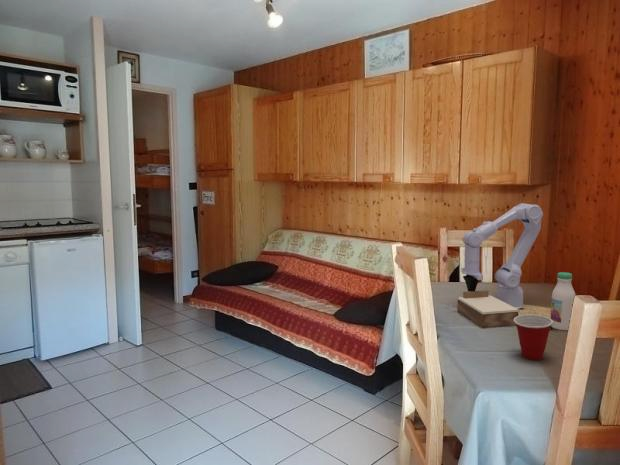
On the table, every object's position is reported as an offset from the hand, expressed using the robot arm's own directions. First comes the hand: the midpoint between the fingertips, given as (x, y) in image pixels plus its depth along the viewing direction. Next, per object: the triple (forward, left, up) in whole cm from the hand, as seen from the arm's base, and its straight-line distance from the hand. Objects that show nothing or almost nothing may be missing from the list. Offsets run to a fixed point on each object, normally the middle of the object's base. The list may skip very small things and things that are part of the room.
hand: (471, 293), depth 185 cm
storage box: (0, +12, -7) cm, 14 cm away
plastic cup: (+5, +48, -7) cm, 49 cm away
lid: (0, +12, -1) cm, 12 cm away
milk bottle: (-21, +27, -7) cm, 35 cm away
